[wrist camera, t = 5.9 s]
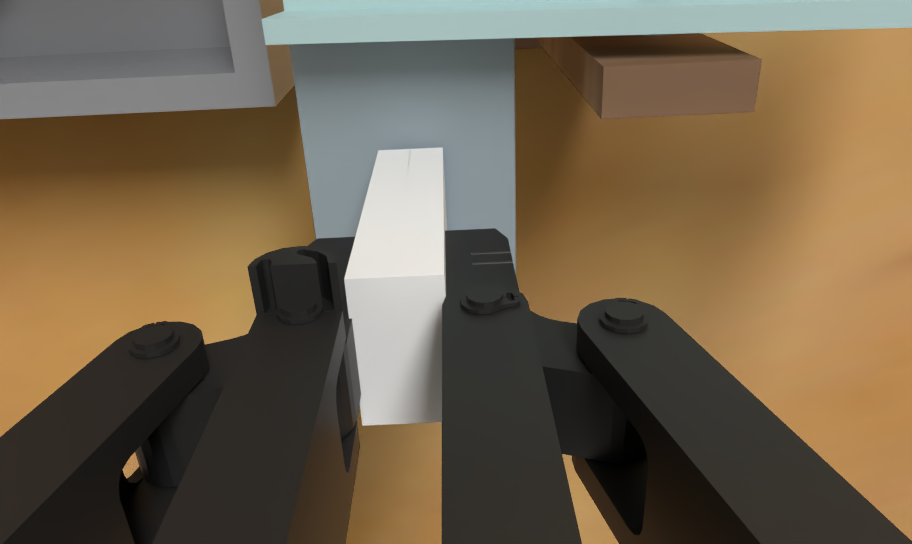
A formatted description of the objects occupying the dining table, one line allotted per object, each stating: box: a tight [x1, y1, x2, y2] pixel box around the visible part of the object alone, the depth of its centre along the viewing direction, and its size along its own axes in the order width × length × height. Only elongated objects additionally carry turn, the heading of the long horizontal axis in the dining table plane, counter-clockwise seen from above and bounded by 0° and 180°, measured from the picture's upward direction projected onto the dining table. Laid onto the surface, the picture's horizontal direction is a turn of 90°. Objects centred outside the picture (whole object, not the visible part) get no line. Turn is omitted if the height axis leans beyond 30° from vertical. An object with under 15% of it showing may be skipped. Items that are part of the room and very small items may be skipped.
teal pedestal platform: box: [262, 0, 912, 274], centre depth 15 cm, size 15×20×2 cm
